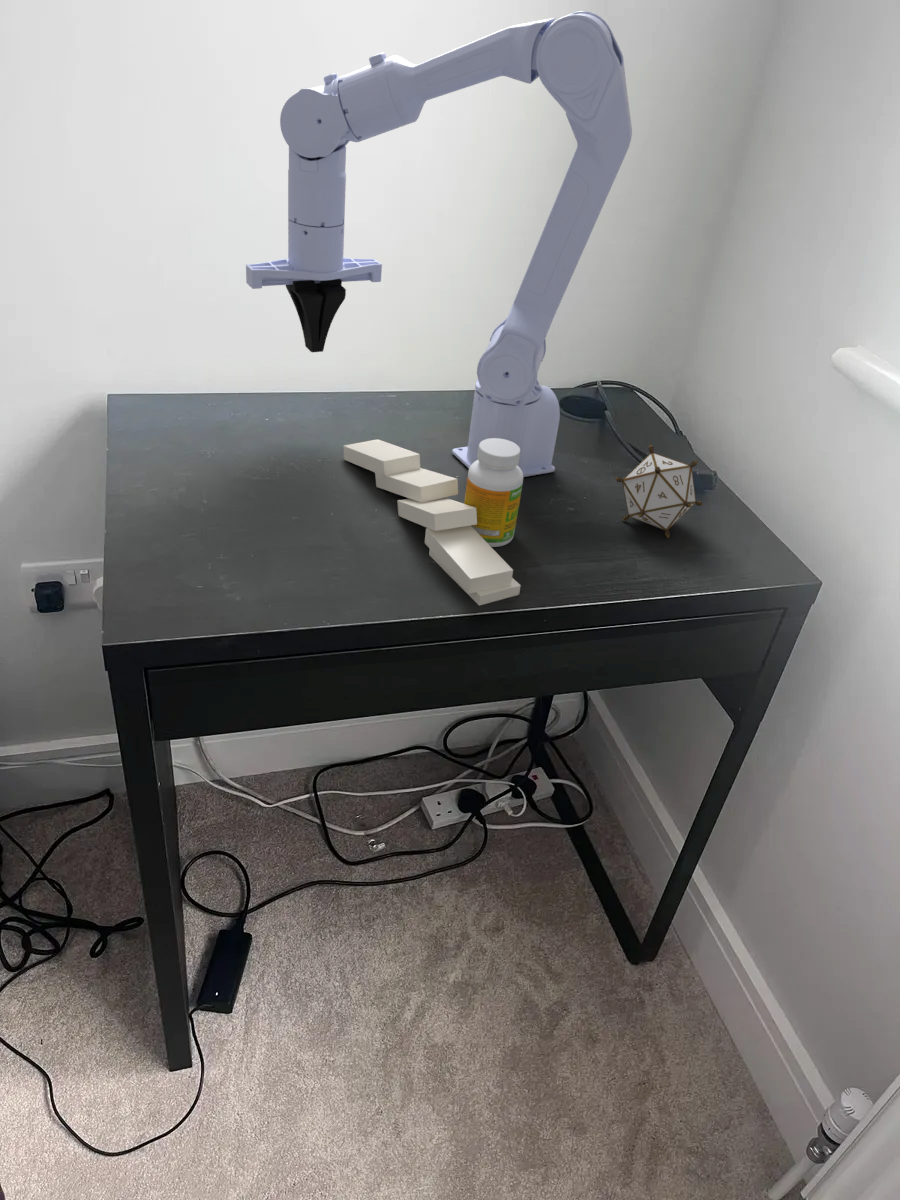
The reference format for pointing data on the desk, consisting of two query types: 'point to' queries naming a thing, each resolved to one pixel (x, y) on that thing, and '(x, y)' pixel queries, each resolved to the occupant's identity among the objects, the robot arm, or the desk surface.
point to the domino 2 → (419, 485)
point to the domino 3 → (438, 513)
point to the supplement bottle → (495, 490)
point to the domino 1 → (382, 457)
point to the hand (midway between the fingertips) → (314, 348)
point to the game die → (659, 491)
